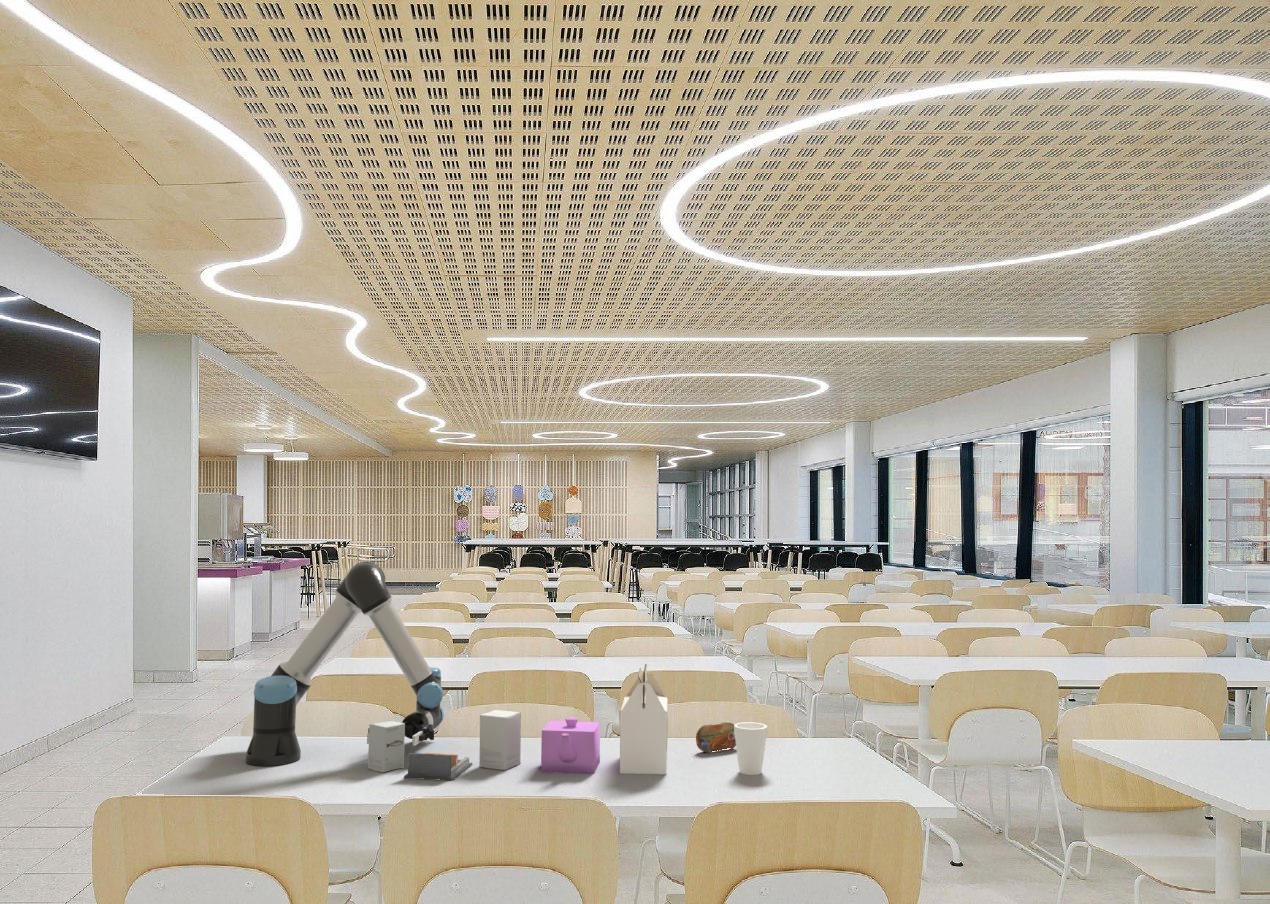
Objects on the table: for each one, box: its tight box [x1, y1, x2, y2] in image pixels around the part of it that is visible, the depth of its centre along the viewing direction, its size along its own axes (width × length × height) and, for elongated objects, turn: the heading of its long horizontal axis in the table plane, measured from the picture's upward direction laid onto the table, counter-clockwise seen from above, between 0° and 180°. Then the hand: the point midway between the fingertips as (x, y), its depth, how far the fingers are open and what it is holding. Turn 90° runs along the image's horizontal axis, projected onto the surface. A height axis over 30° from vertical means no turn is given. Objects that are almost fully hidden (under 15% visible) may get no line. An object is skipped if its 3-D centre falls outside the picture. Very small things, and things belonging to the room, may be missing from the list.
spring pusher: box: [424, 752, 459, 768], centre depth 277 cm, size 9×1×4 cm, turn 82°
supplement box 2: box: [478, 709, 522, 771], centre depth 283 cm, size 9×9×15 cm
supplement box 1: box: [367, 720, 406, 773], centre depth 279 cm, size 7×7×13 cm
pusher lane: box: [403, 752, 473, 781], centre depth 276 cm, size 14×17×7 cm
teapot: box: [540, 716, 601, 775], centre depth 281 cm, size 15×25×14 cm, turn 175°
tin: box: [695, 722, 736, 754], centre depth 304 cm, size 15×3×8 cm, turn 120°
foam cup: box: [734, 721, 768, 776], centre depth 279 cm, size 10×9×13 cm
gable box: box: [619, 663, 669, 776], centre depth 287 cm, size 22×13×28 cm, turn 178°
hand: (390, 739), depth 280 cm, fingers open, 13 cm apart
